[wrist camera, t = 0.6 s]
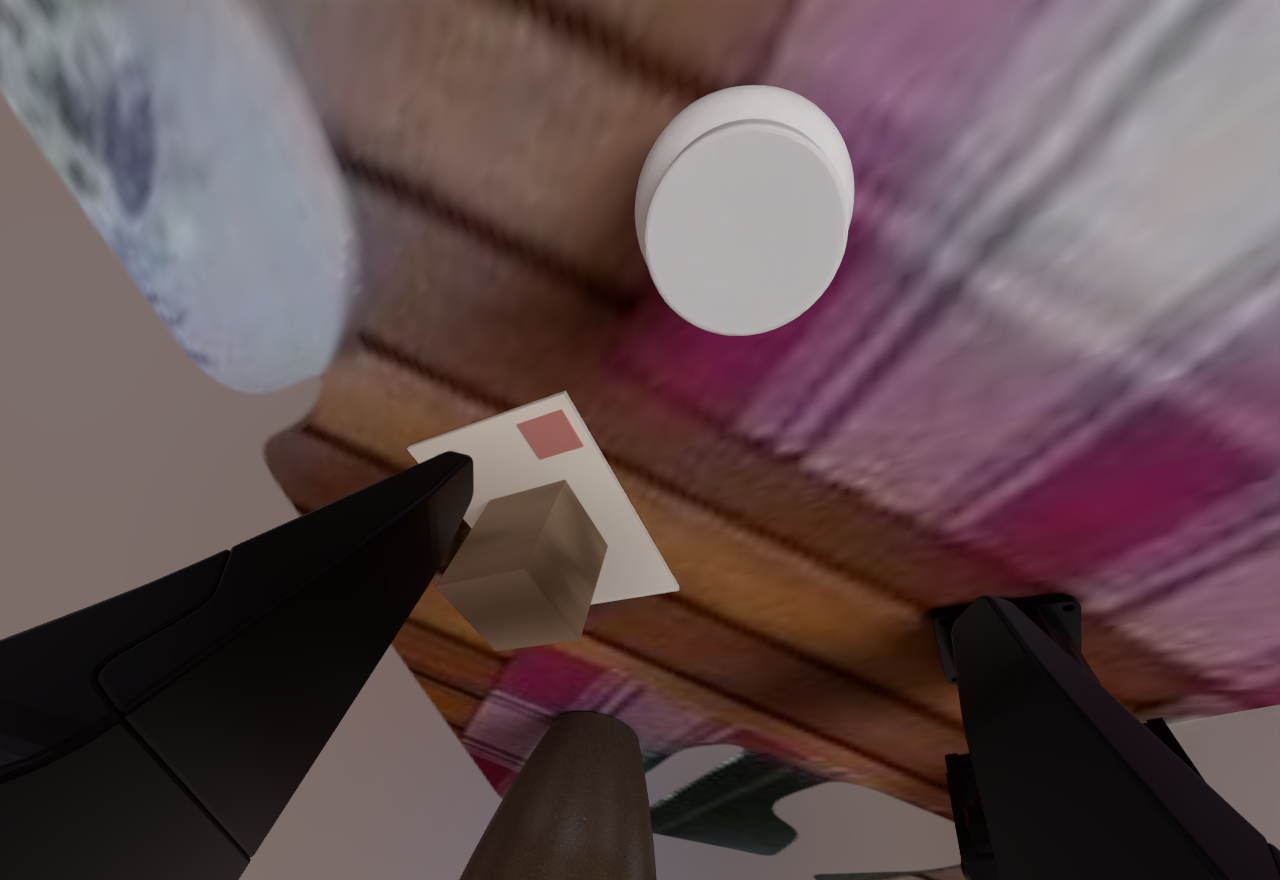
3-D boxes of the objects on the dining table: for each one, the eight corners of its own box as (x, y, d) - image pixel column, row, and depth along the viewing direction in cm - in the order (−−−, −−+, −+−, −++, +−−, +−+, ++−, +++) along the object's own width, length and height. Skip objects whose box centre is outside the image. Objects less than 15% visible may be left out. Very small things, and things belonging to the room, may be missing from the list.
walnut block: (608, 545, 28) (579, 640, 23) (535, 560, 30) (495, 651, 25) (565, 479, 25) (523, 568, 21) (489, 500, 27) (435, 586, 22)
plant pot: (678, 694, 36) (642, 1028, 23) (692, 784, 44) (671, 1069, 31) (492, 675, 39) (368, 961, 26) (537, 763, 47) (459, 1014, 34)
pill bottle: (658, 254, 19) (606, 350, 11) (668, 85, 16) (606, 71, 8) (800, 266, 18) (840, 377, 11) (839, 93, 15) (930, 85, 8)
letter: (679, 586, 29) (678, 591, 29) (541, 608, 33) (539, 614, 32) (565, 390, 23) (562, 394, 22) (409, 445, 26) (405, 449, 26)
